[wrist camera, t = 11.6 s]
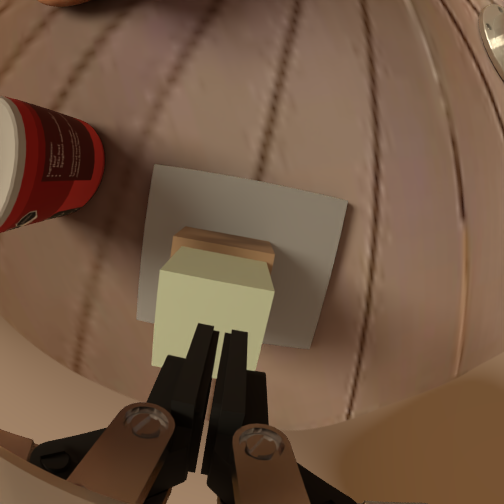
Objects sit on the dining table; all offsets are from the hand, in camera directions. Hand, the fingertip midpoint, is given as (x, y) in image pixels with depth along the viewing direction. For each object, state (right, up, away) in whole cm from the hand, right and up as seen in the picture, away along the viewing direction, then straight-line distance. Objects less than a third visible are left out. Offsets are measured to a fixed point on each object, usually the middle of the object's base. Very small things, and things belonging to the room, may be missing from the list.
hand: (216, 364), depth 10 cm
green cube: (-1, +1, +8) cm, 9 cm away
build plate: (0, +3, +13) cm, 14 cm away
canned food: (-14, +11, +11) cm, 21 cm away
